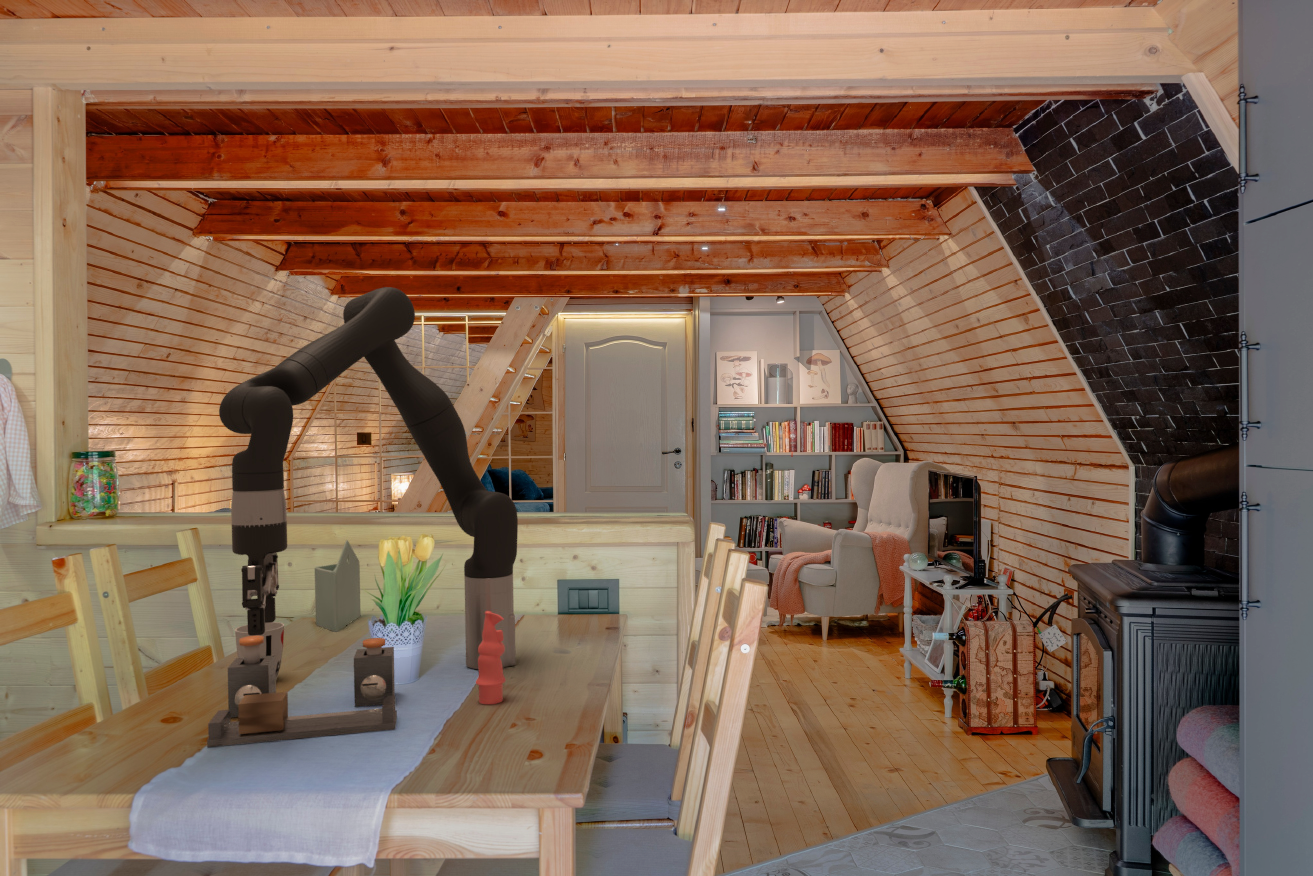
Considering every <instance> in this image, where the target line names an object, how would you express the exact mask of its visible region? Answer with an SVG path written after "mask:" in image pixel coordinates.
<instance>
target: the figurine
mask: <svg viewBox="0 0 1313 876" xmlns="http://www.w3.org/2000/svg"><path fill="white" fill-rule="evenodd" d="M485 615H486V616H485V620H484V628H483V631H482V639H483V640H482V642H481V644H480V645H479V647H478V653H479V654H480V656H479V658H478V669H477V670H478V677H477V679H476V681H475V684H476V685H477V686H478V702H479V703H480V704H483V705H497V704H499V703H502V701H504V697H503V695H504V694H503V693H504V692H503V691H504V689H503V686H504V685H503V684H504V683H505V682H506V677H505V675H504V667H503V666H502V661H501V659H500V656H502V654H503V653H504V651H505V646H504V644H503V643H502V642H501V641H503V639H504V638H503V632H502V630H496V628H495V625H496V624H497V623H499V622H500V621H501V620H504V619H503V618H502V617H501V616H500V615H498V614H495V613H492V612H491V611H486V612H485Z"/></svg>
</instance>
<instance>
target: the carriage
mask: <svg viewBox="0 0 1313 876" xmlns="http://www.w3.org/2000/svg"><path fill="white" fill-rule="evenodd" d="M288 694H289V693H288V691H283V692H276V693H267V694H255V695H245V696H244V697H243V699H242V700H241V701H240V703H239V704H238V708H239V717H238V721H239V734H246V733H257V732H268V731H279V730H283V729H284V719H285V717H289V699H288V698H289V697H288V696H289V695H288Z"/></svg>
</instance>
